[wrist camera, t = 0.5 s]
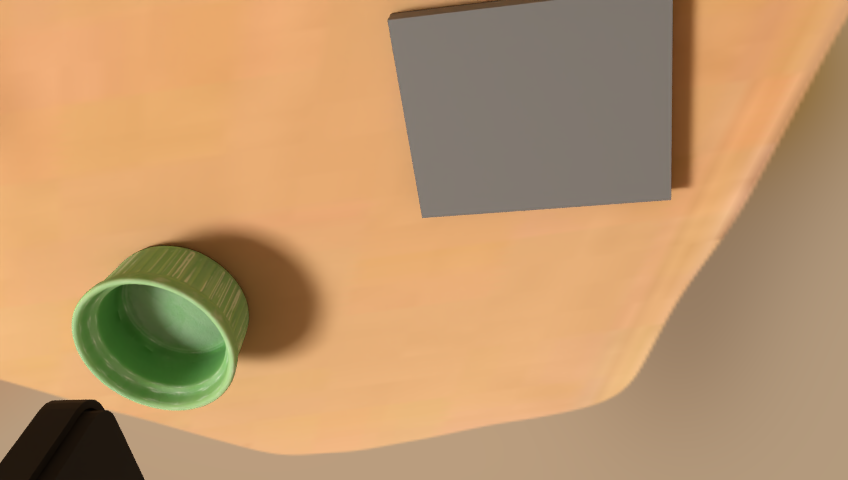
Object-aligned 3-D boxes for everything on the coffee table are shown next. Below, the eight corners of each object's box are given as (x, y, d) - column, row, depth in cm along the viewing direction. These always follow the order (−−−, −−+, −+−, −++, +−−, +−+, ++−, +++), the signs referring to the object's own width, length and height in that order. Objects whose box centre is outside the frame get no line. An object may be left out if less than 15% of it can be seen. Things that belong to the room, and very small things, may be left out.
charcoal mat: (391, 13, 35) (387, 20, 35) (669, -21, 33) (672, -14, 32) (424, 208, 40) (422, 218, 40) (668, 189, 38) (671, 200, 37)
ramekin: (291, 321, 46) (269, 371, 42) (186, 381, 49) (157, 433, 46) (181, 207, 42) (147, 251, 39) (77, 280, 46) (36, 327, 42)
